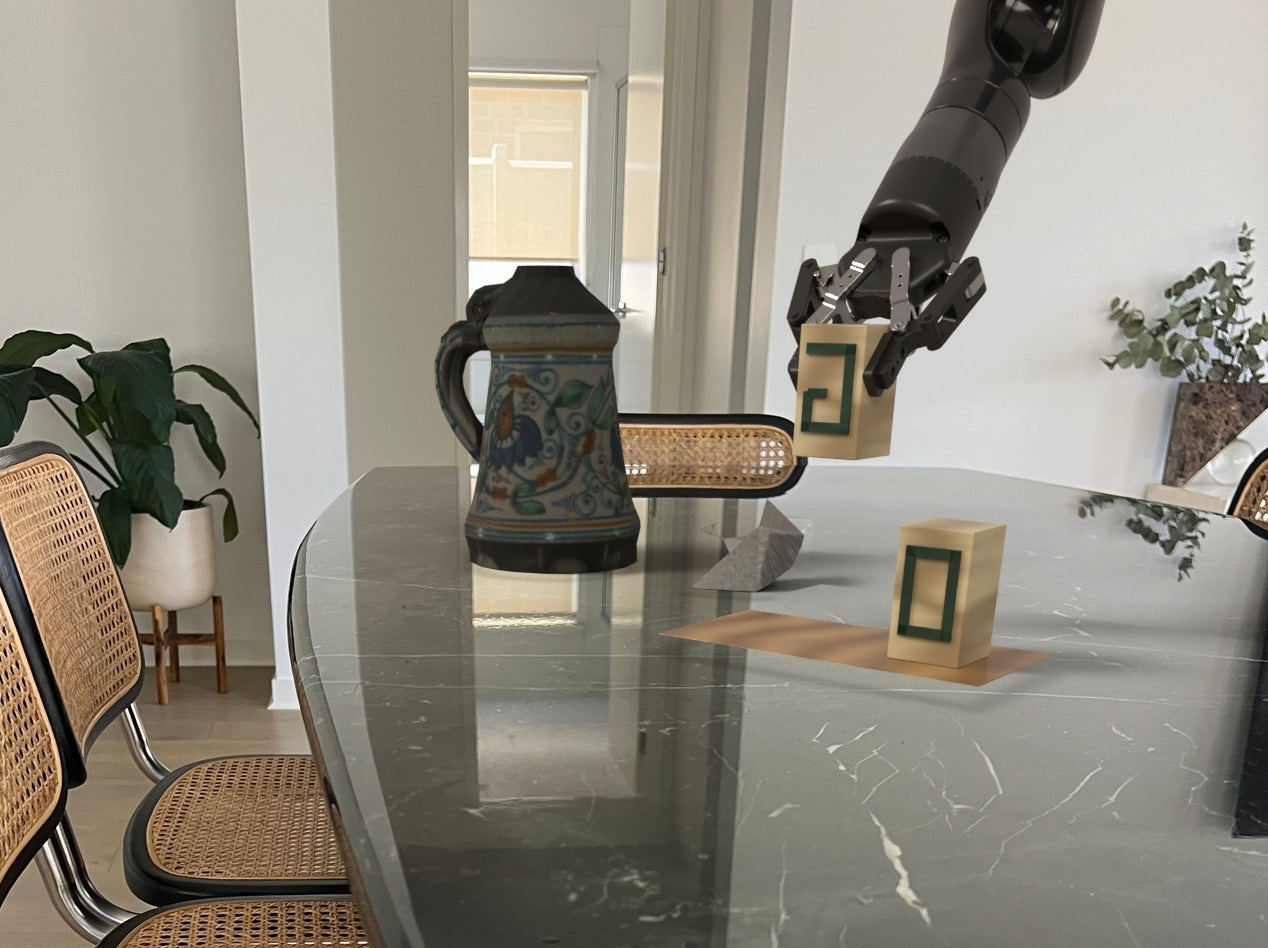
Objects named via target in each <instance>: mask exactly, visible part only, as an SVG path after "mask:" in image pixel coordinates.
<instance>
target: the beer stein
mask: <svg viewBox="0 0 1268 948" xmlns="http://www.w3.org/2000/svg"><path fill="white" fill-rule="evenodd" d="M465 317H466V319H463V320H458V321H456V322H454V323H453V324H451V325H450V326H449V328H447V330H446V332H444V333H443V334H442V336H441V337H440V345H439V347H438V348H437V349H438V350H437V352H436V356H435V359H434V371H433V375H434V383H435V384H434V385H435V391H436V395H437V398H438V402H439V405H440V408H441V410H442V413H443V415H444V417H445V419H446V421H447V423H448V425H449V426H450V428H451V430H452V431H453V433H454V435H455V436H456V438H457V440H458V441H459V443H461V445H462V446H463V448H464V449H465V450H466V451H467V452H468V454H469V455H470V457H471V458H472V459H474V461H475V462H476V463H477V464H478V470H477V476H476V482H475V486H474V491H473V495H472V500H471V504H470V506H469V510H468V512H467V514H466V517H465V519H464V535H465V540H466V543H467V547H468V550H469V561H470V562H472V563H473V564H476V565H477V566H480V567H484V568H489V569H492V570H493V569H494V570H499V571H507V572H521V573H535V574H575V573H578V574H580V573H594V572H595V573H596V572H603V571H604V572H605V571H610V570H616V569H622V568H627V567H628V566H631V565H632V564H634V563H636V562H638V541H639V536H640V533H641V532H640V531H641V518H640V516H639V514H638V511H637V508H636V506H635V504H634V500H633V495H632V492H631V488H630V485H629V480H628V474H627V469H626V464H625V457H624V451H623V442H622V436H621V429H620V418H619V412H618V411H619V409H618V402H617V400H618V399H617V391H616V382H615V381H616V380H615V373H614V362H613V361H614V360H613V359H614V350H615V348H616V346H617V344H618V342H619V337H620V331H621V323H620V321H619V318H617V317H616V315H615V312H613V311H612V309H610V308H609V307H608V306H607V305H606V304H605V303H603V302H602V300H600V299H599V298H597V296H595V294H594V293H592V292H590V290H589V289H588V288H587V287H586V286H585V285H584V284H583V282H582V281H581V279H580V278H578V276H577V275H576V272H575V268H574V266H573V265H558V264H557V265H556V264H555V265H551V264H550V265H549V264H548V265H547V264H543V265H541V264H538V265H537V264H536V265H533V264H531V265H530V264H528V265H527V264H526V265H517V266H516V268H515V270H514V272H513V274H512V276H511V277H510V278H509V279H507V280H506V281H505V282H503V283H494V284H493V283H492V284H485V285H483V286H480V287H479V288H476V289H475V290H474V291H473V293H472V294H471V295H470V297H469V299H468V301H467V303H466V305H465ZM479 352H489V354H490V371H489V376H488V377H489V378H488V387H487V394H486V403H485V410H484V411H485V412H484V420H483V423H482V422H481V421H480V420H479V418H478V416H477V415H476V413H475V411H474V409H473V407H472V405H471V403H470V401H469V398H468V396H467V393H466V389H465V385H464V374H465V369H466V365H467V362H468V360H469V358H471V357H472V356H473V355H474V354H476V353H479Z"/></svg>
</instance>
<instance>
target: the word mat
mask: <svg viewBox="0 0 1268 948" xmlns="http://www.w3.org/2000/svg"><path fill="white" fill-rule="evenodd" d="M889 633H890V629H883V628H877V627H870V626H863V625H857V624H849V623H844V622H837V621H829V620H823V619H816V618H810V617H803V616H796V615H790V614H784V613H783V614H782V613H775V612H768V611H761V610H755V609H744V610H740V611H737V612H733V613H729V614H726V615H722V616H719V617H715V618H711V619H707V620H703V621H699V622H695V623H692V624H688V625H685V626H681V627H677V628H673V629H669V630H665V631H661V632H659V633H658V634H659V635H662V636H663V635H664V636H670V637H677V638H682V639H687V640H694V641H700V642H706V643H712V644H718V645H724V646H730V647H736V648H737V647H738V648H742V649H749V650H753V651H761V652H767V653H773V654H778V655H784V656H790V657H797V658H802V659H808V660H815V661H820V662H825V663H826V662H827V663H832V664H839V665H846V666H851V667H855V668H862V669H868V670H875V671H881V672H886V673H893V674H899V675H906V676H910V677H911V676H912V677H916V678H923V679H929V680H934V681H940V682H946V683H947V682H948V683H953V684H959V685H965V686H971V687H978V688H980V687H982V686H984V685H987V684H990V683H991V682H993V681H996V680H998V679H1001V678H1003V677H1005V676H1008V675H1010V674H1012V673H1014V672H1017V671H1020V670H1022V669H1024V668H1027V667H1029V666H1032V665H1034V664H1036V663H1038V662H1041V661H1043V660H1045V659H1047V658H1050V657H1052V656H1053V653H1046V652H1040V651H1032V650H1026V649H1019V648H1012V647H1006V646H1005V647H1004V646H998V645H992V644H991V646H990V653H989V656H988V657H985V658H983V659H980V660H978V661H975V662H973V663H970V664H968V665H965V666H963V667H960V668H958V669H955V668H949V667H942V666H936V665H930V664H924V663H917V662H911V661H905V660H899V659H892V658H887V652H888V643H889Z"/></svg>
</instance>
